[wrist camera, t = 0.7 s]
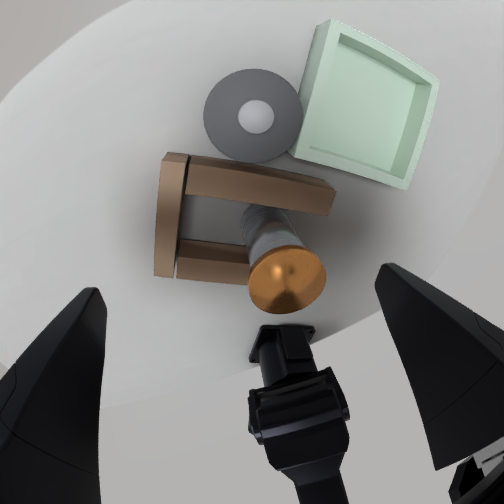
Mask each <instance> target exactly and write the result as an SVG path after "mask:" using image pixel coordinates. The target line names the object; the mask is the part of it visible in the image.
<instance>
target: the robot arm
mask: <svg viewBox="0 0 504 504" xmlns="http://www.w3.org/2000/svg"><path fill="white" fill-rule="evenodd" d="M375 290H376V293H377V296H378V299H379V302H380V304H381V307H382V311H383V314H384V317H385V320H386V323H387V326H388V328H389V331H390V333H391V336H392V338H393V340H394V343H395V345H396V348H397V350H398V353H399V355H400V358H401V360H402V363H403V366H404V368H405V371H406V374H407V376H408V379H409V382H410V385H411V388H412V390H413V393H414V396H415V399H416V402H417V406H418V408H419V412H420V415H421V418H422V421H423V424H424V429H425V432H426V435H427V440H428V443H429V447H430V451H431V455H432V459H433V464H434V468H435V470H436V471H437V470H439V469H442V468H444V467H446V466H449V465H451V464H453V463H456V462H457V461H460V460H462V459H464V458H466V457H468V456H469V457H468V458H467V459H466V460H464V461H463V462H462V463H460V464H459V465H458V466H457V469H456V473H455V475H454V478H453V481H452V484H451V486H450V489H449V491H448V492H449V495H450V498H451V502H452V504H504V331H503V330H502V329H500V328H498V327H497V326H495V325H494V324H492V323H490V322H489V321H487V320H486V319H484V318H483V317H481V316H480V315H478V314H477V313H475V312H473V311H472V310H470V309H469V308H467V307H466V306H464V305H462V304H461V303H459V302H458V301H456V300H455V299H453V298H452V297H450V296H449V295H447V294H445V293H444V292H442V291H440V290H439V289H437V288H435V287H434V286H432V285H431V284H429V283H427V282H426V281H424V280H422V279H421V278H419V277H417V276H416V275H414V274H412V273H410V272H409V271H407V270H405V269H404V268H402V267H400V266H398V265H397V264H395V263H385V264H383V265H382V266H381V268H380V270H379V273H378V276H377V278H376V281H375ZM106 323H107V307H106V305H105V302H104V300H103V298H102V296H101V293H100V291H99V289H98V288H96V287H87V288H84V289H83V290H82V291H81V292H80V293H79V294H78V295H77V296H76V297H75V298H74V299H73V300H72V301H71V302H70V303H69V304H68V305H67V306H66V307H65V308H64V309H63V310H62V311H61V312H60V313H59V314H58V315H57V316H56V317H55V318H54V319H53V320H52V321H51V322H50V323H49V324H48V326H47V327H46V328H45V329H44V330H43V331H42V332H41V333H40V334H39V335H38V336H37V337H36V339H35V340H34V341H33V342H32V343H31V344H30V345H29V346H28V348H27V349H26V350H25V351H24V352H23V353H22V355H21V356H20V357H19V358H18V359H17V360H16V363H14V364H13V365H12V366H11V368H10V369H9V370H8V372H7V373H6V374H5V375H4V376H3V378H2V379H1V380H0V504H101V495H100V482H99V466H98V465H99V464H98V433H99V410H100V396H101V385H102V376H103V367H104V359H105V340H106ZM314 333H315V329H314V327H292V326H263V327H261V328H260V330H259V333H258V335H257V338H256V341H255V343H254V346H253V349H252V351H251V354H250V356H249V362H251V363H260V367H261V372H262V377H263V382H264V386H265V387H263V388H259V389H251V390H249V395H250V396H249V397H248V404H249V425H248V430H249V433H251V434H253V435H254V436H255V438H256V440H257V442H258V444H259V445H264V447H265V451H266V454H267V458H268V460H269V463H270V464H271V465H272V466H273V467H274V468H275V469H276V470H277V471H281V472H282V473H284V474H285V475H286V476H287V477H288V478H290V479H291V480H292V481H293V482H294V485H295V488H296V491H297V495H298V499H299V502H300V504H349V502H348V499H347V495H346V491H345V488H344V484H343V480H342V477H341V473H340V470H339V468H340V465H341V463H342V460H343V457H344V454H345V452H347V449H348V445H349V433H348V430H347V426H346V423H345V421H347V420H350V414H349V409H348V405H347V402H346V399H345V396H344V394H343V392H342V389H341V388H340V385H339V383H338V381H337V379H336V377H335V375H334V373H333V371H332V369H331V367H327V368H326V369H324V370H321V371H318V370H317V368H316V365H315V362H314V359H313V354H312V351H311V349H310V346H309V342H310V340H311V338H312V337H313V335H314Z"/></svg>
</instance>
